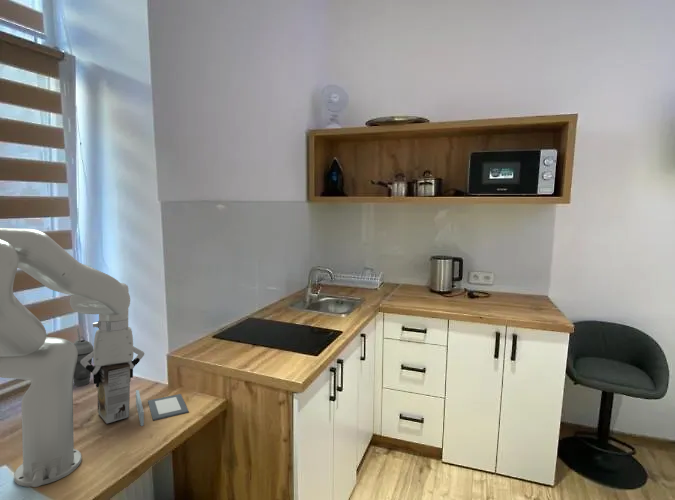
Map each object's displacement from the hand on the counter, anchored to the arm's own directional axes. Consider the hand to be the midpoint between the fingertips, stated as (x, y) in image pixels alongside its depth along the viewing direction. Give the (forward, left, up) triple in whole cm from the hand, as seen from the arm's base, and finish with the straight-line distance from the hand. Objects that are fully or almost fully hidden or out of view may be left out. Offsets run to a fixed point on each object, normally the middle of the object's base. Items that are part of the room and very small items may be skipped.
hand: (113, 382), depth 111 cm
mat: (-2, -15, -10) cm, 18 cm away
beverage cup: (+30, +9, -11) cm, 33 cm away
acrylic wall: (-2, -7, -10) cm, 13 cm away
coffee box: (0, 0, -10) cm, 10 cm away
